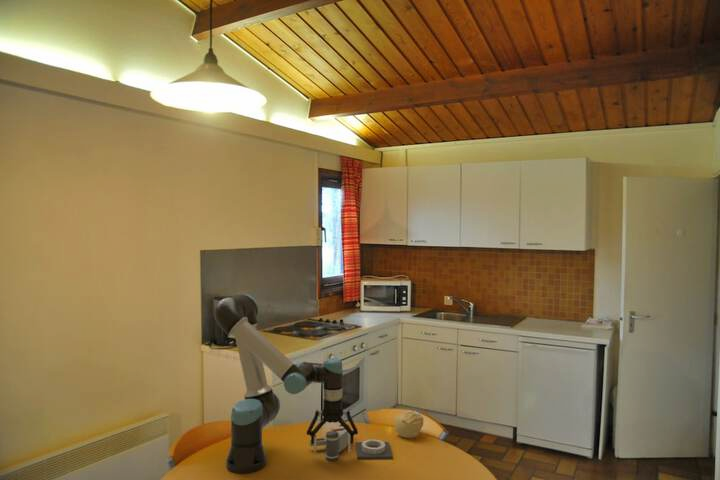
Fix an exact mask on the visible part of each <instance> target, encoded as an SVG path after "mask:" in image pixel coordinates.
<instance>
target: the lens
mask: <svg viewBox="0 0 720 480" xmlns="http://www.w3.org/2000/svg"><path fill="white" fill-rule="evenodd" d="M325 438H326V445H325V461H328V462H337V461H338V460H339V455H340V454H339V453H340V452H339V453H338V445H339V433H338V432H336V431H331V430H330V431H327V432H326V433H325Z"/></svg>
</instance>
